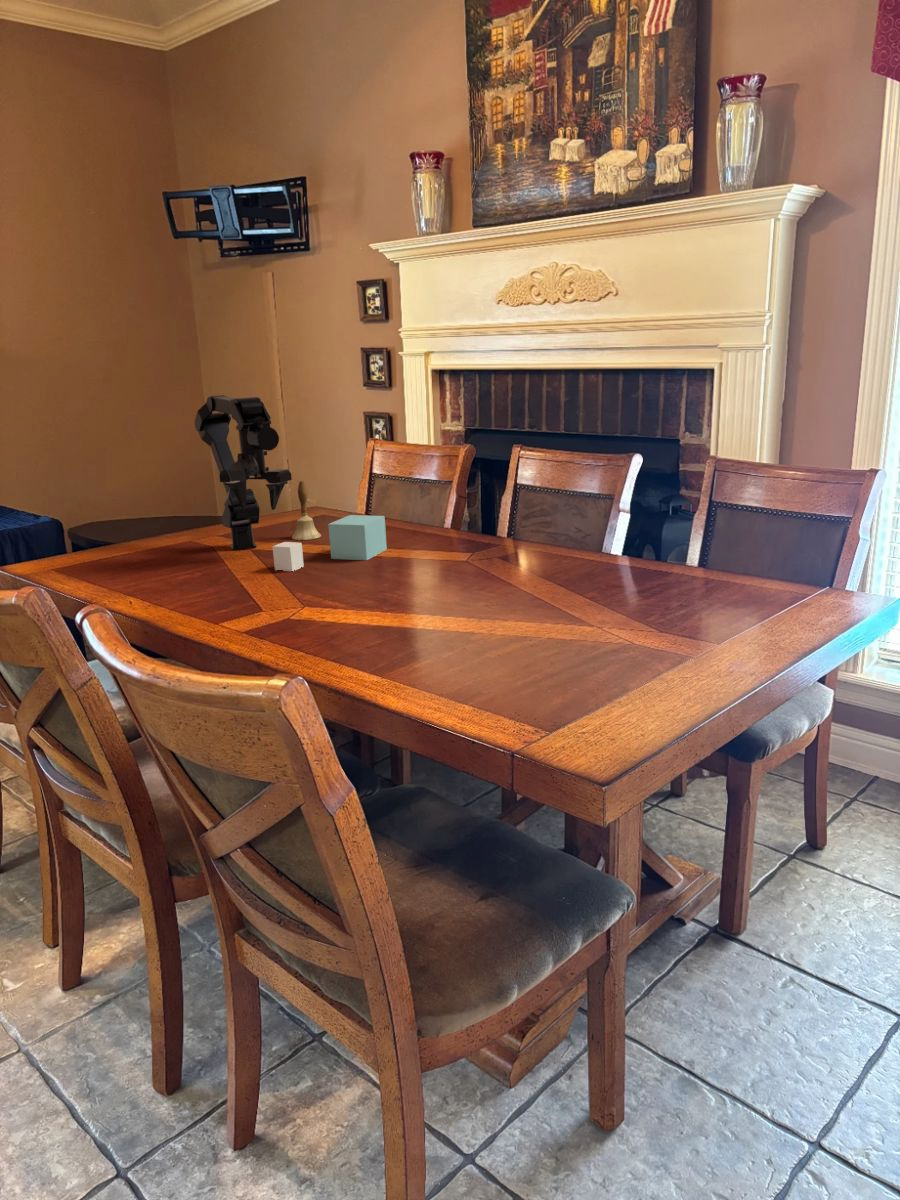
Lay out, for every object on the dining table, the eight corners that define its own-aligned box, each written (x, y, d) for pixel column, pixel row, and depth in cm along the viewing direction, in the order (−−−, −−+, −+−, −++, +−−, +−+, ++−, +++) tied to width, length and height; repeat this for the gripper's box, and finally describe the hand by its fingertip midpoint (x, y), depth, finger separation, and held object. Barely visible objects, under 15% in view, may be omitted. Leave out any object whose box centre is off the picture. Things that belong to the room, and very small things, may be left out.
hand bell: (290, 536, 244) (284, 480, 240) (318, 533, 247) (313, 478, 242) (293, 541, 237) (288, 484, 232) (323, 538, 239) (318, 482, 235)
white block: (275, 570, 206) (272, 546, 204) (286, 565, 210) (284, 541, 208) (292, 571, 204) (290, 547, 202) (303, 566, 208) (301, 542, 206)
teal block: (331, 559, 215) (328, 524, 212) (352, 548, 226) (349, 515, 223) (366, 560, 211) (364, 525, 209) (386, 549, 222) (384, 516, 220)
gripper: (201, 452, 212) (209, 513, 216) (264, 452, 204) (270, 516, 209) (229, 446, 221) (236, 506, 226) (289, 446, 214) (295, 508, 219)
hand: (258, 509), depth 220 cm, fingers open, 9 cm apart
